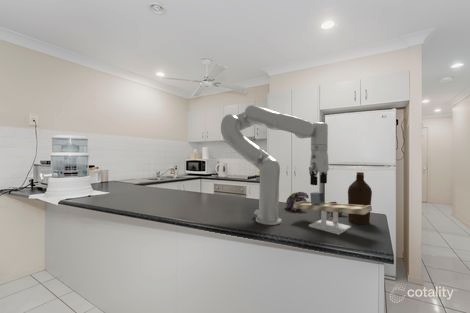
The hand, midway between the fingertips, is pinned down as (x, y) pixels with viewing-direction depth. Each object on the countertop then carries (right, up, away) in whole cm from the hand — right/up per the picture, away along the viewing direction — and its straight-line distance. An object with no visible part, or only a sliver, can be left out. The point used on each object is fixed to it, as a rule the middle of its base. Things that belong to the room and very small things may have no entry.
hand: (318, 184), depth 111 cm
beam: (+4, -12, -4) cm, 13 cm away
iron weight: (0, -10, 0) cm, 10 cm away
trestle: (+4, -20, -4) cm, 20 cm away
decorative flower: (-3, -19, +28) cm, 34 cm away
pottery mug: (+16, -20, +18) cm, 31 cm away
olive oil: (+22, -20, +5) cm, 30 cm away
